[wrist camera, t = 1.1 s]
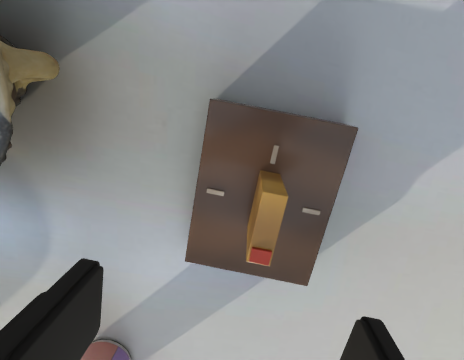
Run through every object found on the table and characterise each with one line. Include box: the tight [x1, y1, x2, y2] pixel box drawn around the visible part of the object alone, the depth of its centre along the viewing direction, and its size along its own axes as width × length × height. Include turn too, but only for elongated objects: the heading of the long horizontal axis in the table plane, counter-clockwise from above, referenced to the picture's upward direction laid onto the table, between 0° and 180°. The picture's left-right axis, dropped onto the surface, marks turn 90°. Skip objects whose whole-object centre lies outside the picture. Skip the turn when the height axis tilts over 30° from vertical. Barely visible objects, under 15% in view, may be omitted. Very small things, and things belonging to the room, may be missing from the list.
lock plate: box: [185, 99, 358, 286], centre depth 23 cm, size 14×11×3 cm
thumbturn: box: [246, 170, 288, 266], centre depth 19 cm, size 5×2×5 cm, turn 169°
